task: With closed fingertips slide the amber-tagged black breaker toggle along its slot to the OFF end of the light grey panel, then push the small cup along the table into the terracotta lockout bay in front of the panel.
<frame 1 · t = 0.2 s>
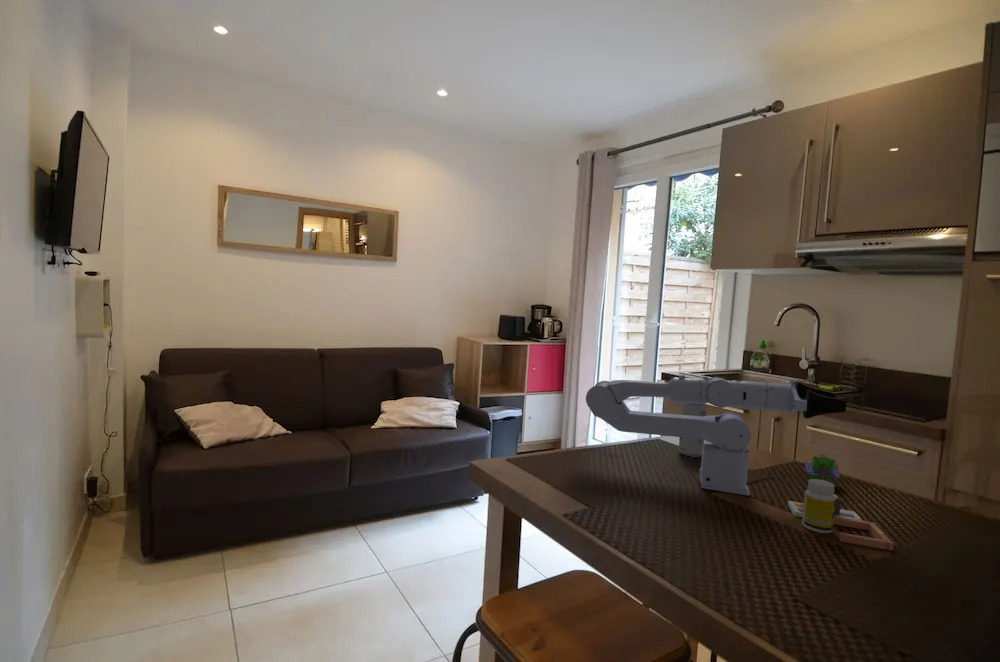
hand: (840, 402, 104), 21 cm above the table, tool horizontal, fingers open, 7 cm apart
energy drink can: (690, 455, 136), on the table
breaker toggle: (828, 502, 98), point 3 cm above the table, slide at 0.0 cm
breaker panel: (824, 515, 99), on the table
supplement bottle: (816, 529, 93), on the table
lockout bay: (859, 535, 91), on the table
geometric puzzle: (820, 484, 118), on the table
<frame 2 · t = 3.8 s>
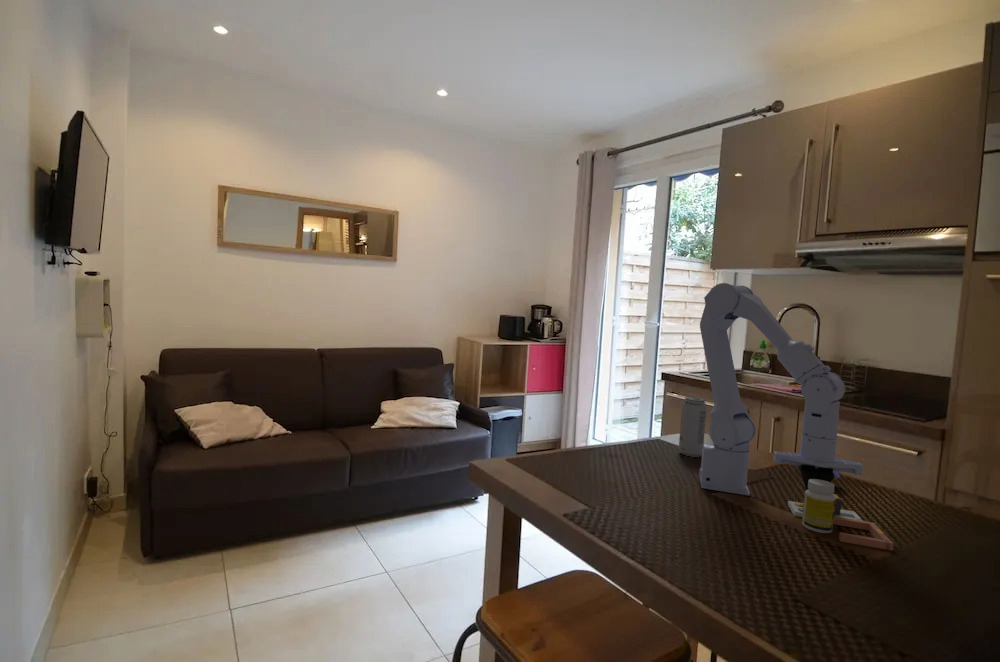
hand: (812, 504, 99), 2 cm above the table, tool pointing down, fingers closed
breaker toggle: (829, 502, 98), point 3 cm above the table, slide at 0.1 cm, touching gripper
everything else where it was.
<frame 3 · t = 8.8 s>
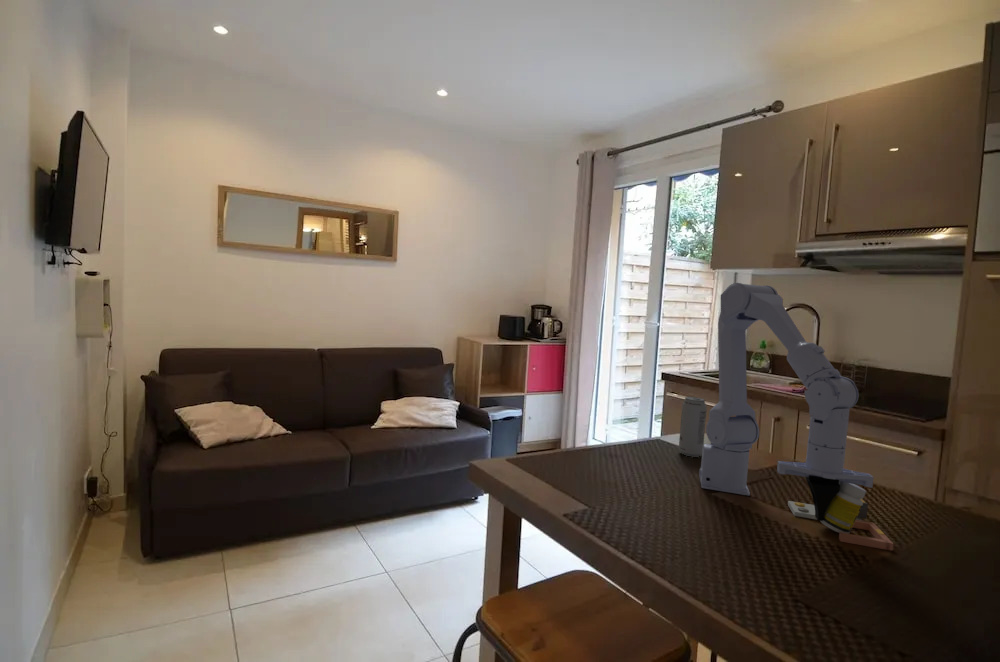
hand: (819, 518, 92), 2 cm above the table, tool pointing down, fingers closed, pressing on supplement bottle
breaker toggle: (855, 506, 97), point 3 cm above the table, slide at 4.3 cm
supplement bottle: (833, 528, 92), on the table, touching gripper
everything else where it was.
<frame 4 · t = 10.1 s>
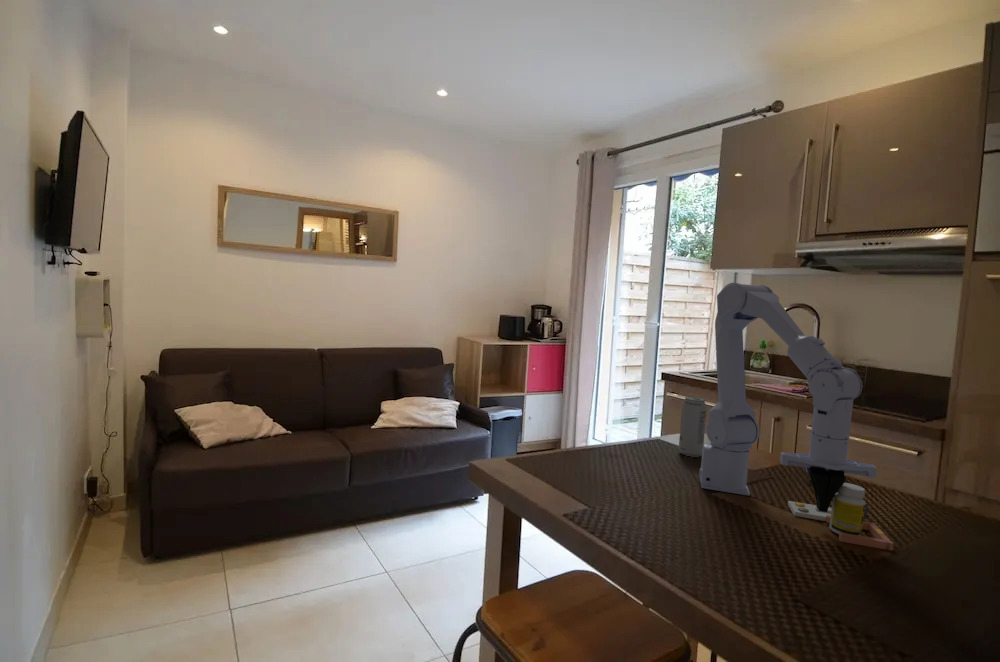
hand: (821, 509, 92), 3 cm above the table, tool pointing down, fingers closed
supplement bottle: (844, 533, 91), on the table, touching gripper
everything else where it was.
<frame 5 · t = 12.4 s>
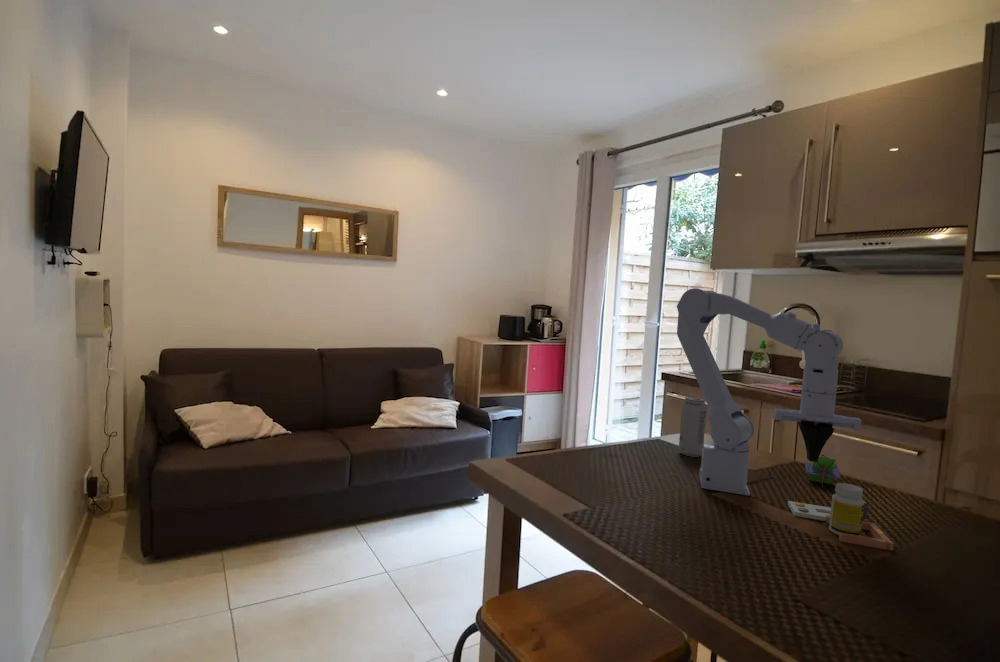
hand: (812, 460, 101), 10 cm above the table, tool pointing down, fingers closed
supplement bottle: (844, 534, 91), on the table
everything else where it was.
at the end: breaker toggle slide at 4.3 cm; supplement bottle inside the target area (1.9 cm from its centre), on the table; supplement bottle tilted 0° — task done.
